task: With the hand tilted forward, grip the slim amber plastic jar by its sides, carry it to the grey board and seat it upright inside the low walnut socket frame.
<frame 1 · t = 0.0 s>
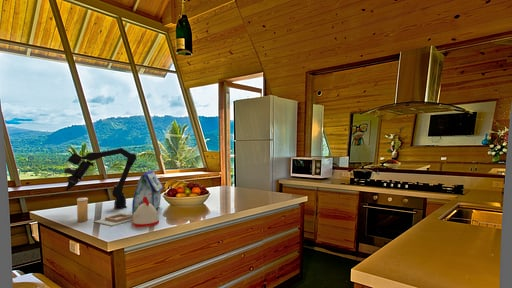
hand: (67, 189, 187), 15 cm above the counter, tool tilted 35°, fingers open, 9 cm apart
socket board: (118, 219, 168), on the counter
lunch bag: (148, 210, 192), on the counter
kitchen timer: (145, 223, 162), on the counter
amber jar: (82, 220, 167), on the counter
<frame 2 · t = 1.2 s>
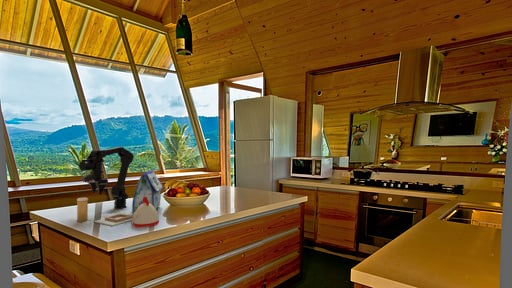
hand: (96, 193, 182), 13 cm above the counter, tool pointing down, fingers open, 9 cm apart
nothing on the counter moved.
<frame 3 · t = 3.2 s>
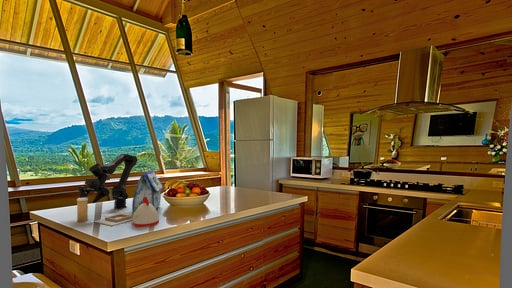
hand: (86, 202, 169), 10 cm above the counter, tool tilted 45°, fingers open, 9 cm apart
nothing on the counter moved.
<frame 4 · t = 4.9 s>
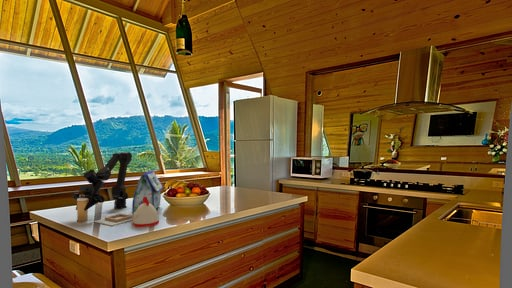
hand: (80, 210, 165), 7 cm above the counter, tool tilted 45°, fingers closed on amber jar, 5 cm apart
amber jar: (82, 220, 167), on the counter, touching gripper
everything else where it was.
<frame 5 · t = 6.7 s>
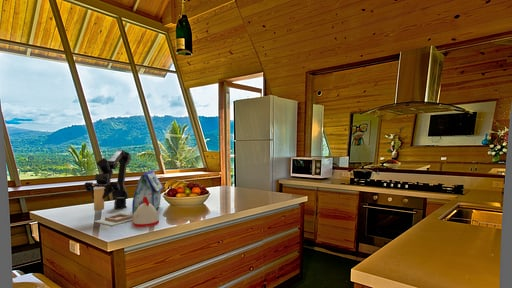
hand: (98, 198, 165), 13 cm above the counter, tool tilted 45°, fingers closed on amber jar, 5 cm apart
amber jar: (99, 209, 166), point 7 cm above the counter, touching gripper
everything else where it was.
when the fingers open (9 cm above the counter, at t = 8.8 s): amber jar drops 1 cm, resting on socket board.
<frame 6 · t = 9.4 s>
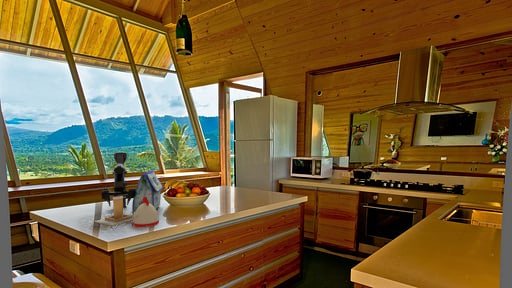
hand: (118, 205, 167), 9 cm above the counter, tool tilted 45°, fingers open, 9 cm apart
amber jar: (118, 218, 169), point 1 cm above the counter, touching socket board
everything else where it was.
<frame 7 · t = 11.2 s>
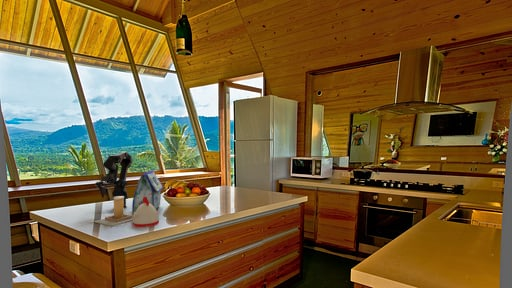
hand: (109, 197, 178), 12 cm above the counter, tool tilted 25°, fingers open, 9 cm apart
nothing on the counter moved.
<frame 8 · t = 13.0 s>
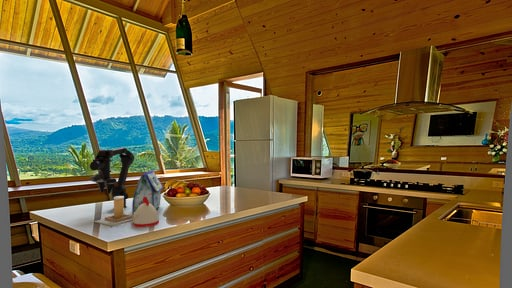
hand: (105, 193, 183), 13 cm above the counter, tool pointing down, fingers open, 9 cm apart
nothing on the counter moved.
at the end: amber jar 0.0 cm from the socket board (horizontally); amber jar tilted 1°; the gripper is holding nothing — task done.
